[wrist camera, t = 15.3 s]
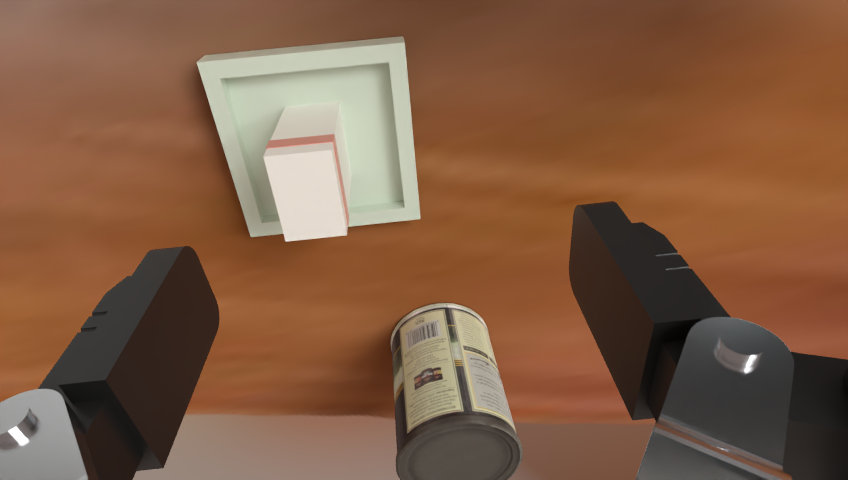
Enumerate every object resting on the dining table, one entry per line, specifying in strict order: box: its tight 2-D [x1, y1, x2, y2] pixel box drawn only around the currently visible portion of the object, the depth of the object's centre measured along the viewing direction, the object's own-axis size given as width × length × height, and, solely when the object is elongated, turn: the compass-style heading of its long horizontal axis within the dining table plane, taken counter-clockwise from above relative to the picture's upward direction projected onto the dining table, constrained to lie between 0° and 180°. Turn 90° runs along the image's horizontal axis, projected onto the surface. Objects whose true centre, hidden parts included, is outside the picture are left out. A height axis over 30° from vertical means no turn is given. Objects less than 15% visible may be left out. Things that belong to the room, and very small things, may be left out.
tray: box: [197, 36, 420, 237], centre depth 39 cm, size 14×14×2 cm
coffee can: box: [391, 303, 523, 480], centre depth 47 cm, size 10×10×14 cm
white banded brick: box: [263, 102, 351, 242], centre depth 35 cm, size 4×6×9 cm
